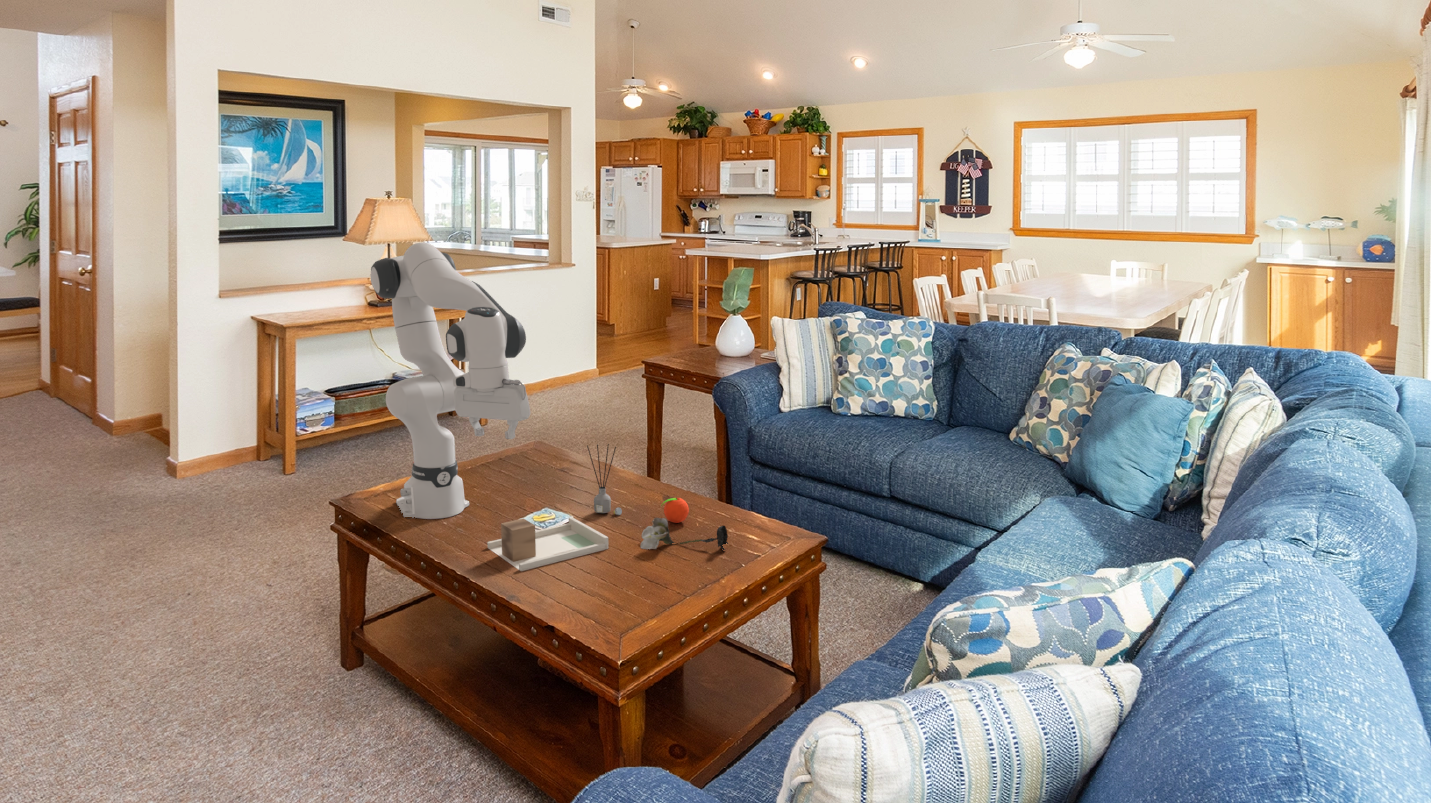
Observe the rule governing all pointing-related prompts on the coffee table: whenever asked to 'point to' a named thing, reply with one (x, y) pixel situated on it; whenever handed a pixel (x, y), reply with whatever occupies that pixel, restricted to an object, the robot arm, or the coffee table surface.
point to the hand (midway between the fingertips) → (494, 437)
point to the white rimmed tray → (558, 544)
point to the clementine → (676, 510)
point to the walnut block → (518, 539)
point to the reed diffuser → (603, 492)
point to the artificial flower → (661, 533)
